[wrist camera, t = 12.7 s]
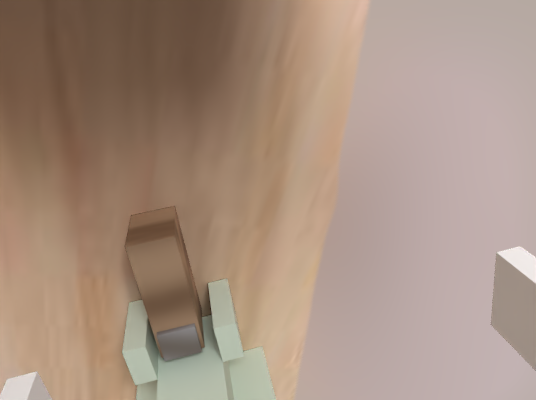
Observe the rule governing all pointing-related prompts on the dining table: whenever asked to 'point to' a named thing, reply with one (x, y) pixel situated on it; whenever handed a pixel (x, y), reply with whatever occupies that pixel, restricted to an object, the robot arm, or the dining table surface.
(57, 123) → the dining table surface
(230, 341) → the pale green block
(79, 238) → the dining table surface
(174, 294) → the brown boxy piece
